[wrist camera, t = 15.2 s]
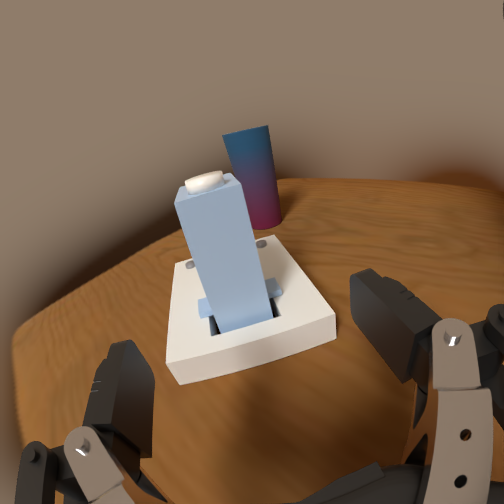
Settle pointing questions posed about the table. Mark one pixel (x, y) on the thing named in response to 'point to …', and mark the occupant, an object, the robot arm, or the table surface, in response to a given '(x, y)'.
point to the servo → (224, 251)
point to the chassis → (251, 337)
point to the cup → (255, 174)
